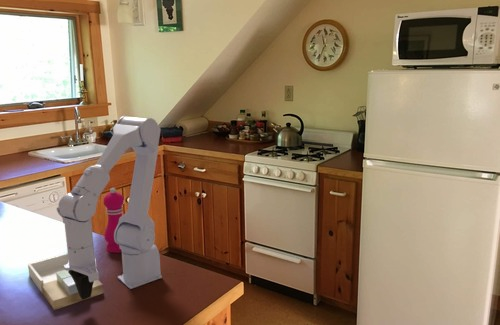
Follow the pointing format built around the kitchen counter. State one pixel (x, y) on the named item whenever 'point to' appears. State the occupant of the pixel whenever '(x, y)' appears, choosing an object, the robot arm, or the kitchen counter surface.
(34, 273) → the box
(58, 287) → the oak plate
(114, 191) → the pepper mill
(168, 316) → the kitchen counter surface
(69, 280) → the tile
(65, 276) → the tile
